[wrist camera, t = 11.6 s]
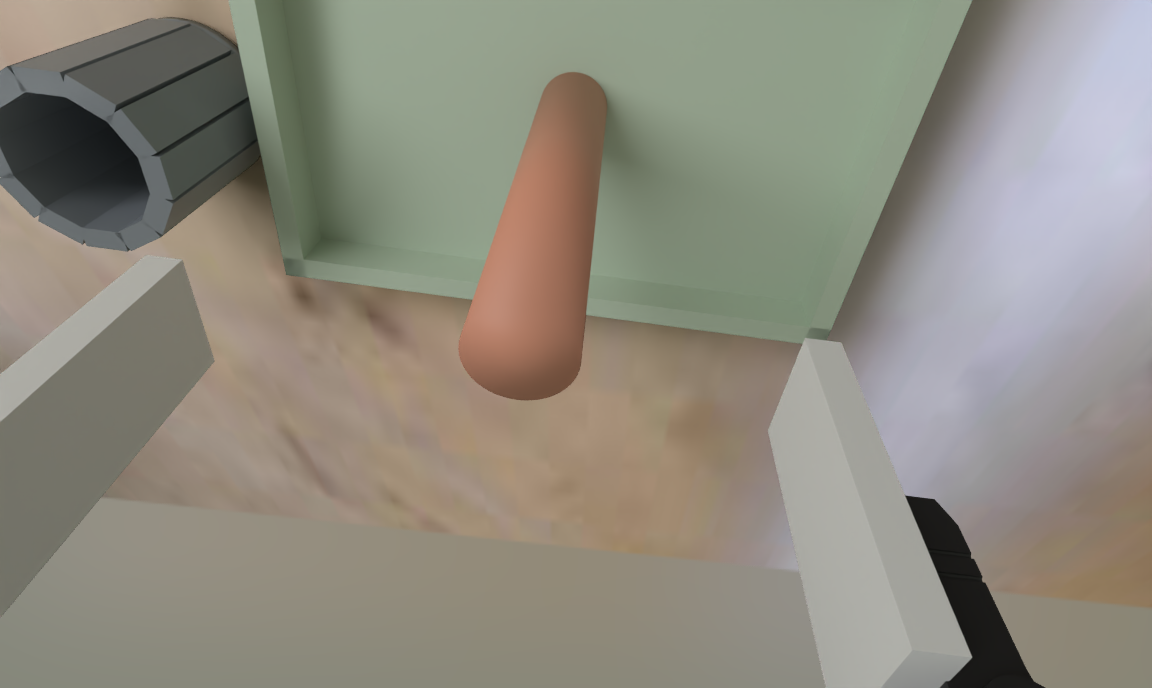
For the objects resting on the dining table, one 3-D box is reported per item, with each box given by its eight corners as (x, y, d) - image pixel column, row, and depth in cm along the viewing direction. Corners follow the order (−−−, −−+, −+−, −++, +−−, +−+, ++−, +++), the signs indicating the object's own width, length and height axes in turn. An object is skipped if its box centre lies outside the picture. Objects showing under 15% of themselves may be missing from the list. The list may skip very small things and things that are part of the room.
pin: (542, 130, 28) (335, 357, 16) (547, 63, 26) (317, 262, 14) (678, 159, 27) (567, 423, 15) (692, 92, 25) (579, 331, 13)
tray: (311, 245, 33) (286, 274, 31) (230, -212, 22) (182, -219, 20) (811, 312, 33) (823, 346, 31) (982, -118, 22) (1021, -115, 20)
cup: (150, 158, 31) (23, 237, 25) (102, 7, 27) (-66, 55, 21) (285, 176, 31) (191, 259, 25) (256, 27, 27) (136, 82, 21)
